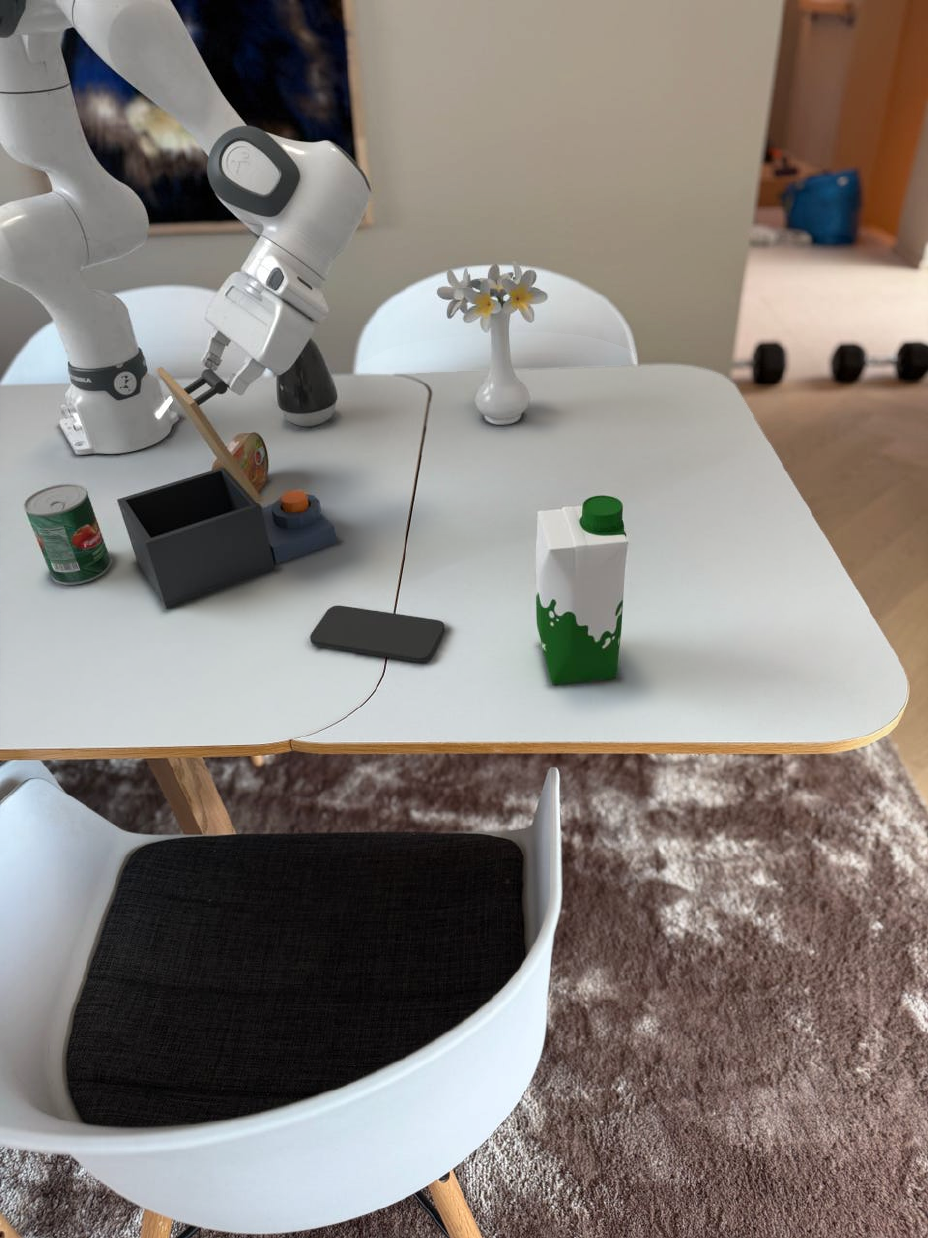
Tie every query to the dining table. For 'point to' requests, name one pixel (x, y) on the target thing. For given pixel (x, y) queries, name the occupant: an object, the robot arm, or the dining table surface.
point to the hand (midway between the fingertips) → (219, 378)
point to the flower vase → (496, 333)
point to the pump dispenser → (307, 388)
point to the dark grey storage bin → (197, 536)
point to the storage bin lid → (203, 423)
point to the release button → (294, 501)
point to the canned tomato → (68, 533)
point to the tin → (249, 457)
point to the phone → (378, 633)
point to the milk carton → (581, 589)
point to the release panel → (297, 530)
